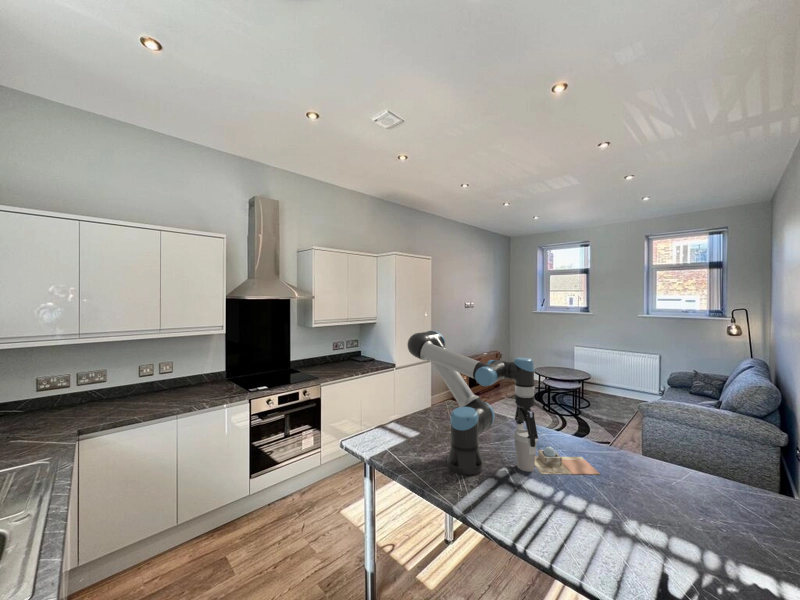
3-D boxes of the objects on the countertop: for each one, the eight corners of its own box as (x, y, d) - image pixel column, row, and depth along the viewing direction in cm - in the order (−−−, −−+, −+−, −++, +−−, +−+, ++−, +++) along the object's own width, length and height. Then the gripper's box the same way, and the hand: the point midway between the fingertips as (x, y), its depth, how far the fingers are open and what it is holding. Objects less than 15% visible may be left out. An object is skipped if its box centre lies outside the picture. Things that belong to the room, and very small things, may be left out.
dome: (546, 460, 133) (546, 449, 133) (542, 455, 138) (542, 444, 138) (557, 460, 133) (557, 449, 133) (552, 455, 138) (552, 444, 138)
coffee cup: (533, 463, 135) (533, 428, 135) (541, 475, 126) (541, 438, 126) (511, 462, 136) (510, 428, 136) (517, 474, 127) (516, 437, 127)
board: (541, 475, 126) (541, 465, 126) (528, 458, 140) (528, 449, 140) (600, 476, 125) (600, 466, 125) (581, 458, 139) (581, 449, 139)
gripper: (546, 404, 118) (547, 461, 118) (523, 387, 143) (524, 433, 143) (526, 405, 119) (527, 461, 119) (506, 387, 144) (508, 433, 144)
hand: (525, 446), depth 131 cm, fingers open, 13 cm apart
